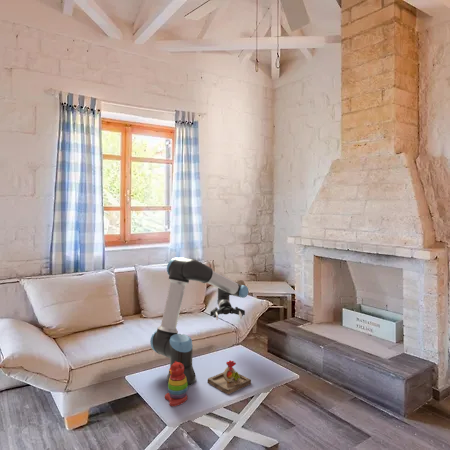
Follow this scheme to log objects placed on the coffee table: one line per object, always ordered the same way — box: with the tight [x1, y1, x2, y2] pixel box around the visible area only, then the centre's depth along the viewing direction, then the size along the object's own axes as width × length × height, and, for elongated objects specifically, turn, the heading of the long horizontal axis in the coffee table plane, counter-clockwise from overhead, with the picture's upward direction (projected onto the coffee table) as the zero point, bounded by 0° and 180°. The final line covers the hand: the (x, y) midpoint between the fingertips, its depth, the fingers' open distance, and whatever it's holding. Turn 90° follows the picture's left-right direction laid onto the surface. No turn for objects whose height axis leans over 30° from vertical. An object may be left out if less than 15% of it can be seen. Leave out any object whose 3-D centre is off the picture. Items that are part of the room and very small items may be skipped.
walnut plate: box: [207, 370, 252, 395], centre depth 189 cm, size 16×16×2 cm
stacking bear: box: [164, 361, 189, 407], centre depth 173 cm, size 11×10×18 cm
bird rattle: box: [223, 360, 240, 383], centre depth 189 cm, size 6×11×9 cm
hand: (229, 317), depth 204 cm, fingers open, 13 cm apart
